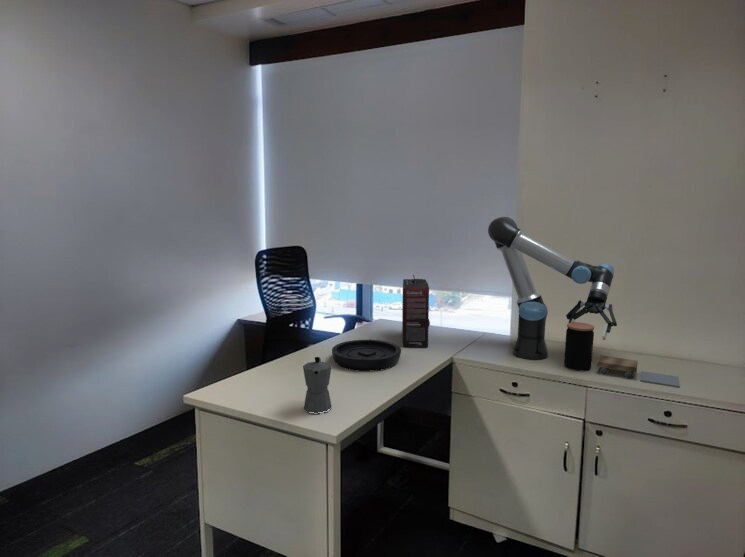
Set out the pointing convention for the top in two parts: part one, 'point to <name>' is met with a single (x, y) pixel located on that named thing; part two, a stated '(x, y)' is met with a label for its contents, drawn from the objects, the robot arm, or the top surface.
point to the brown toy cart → (617, 365)
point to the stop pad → (659, 379)
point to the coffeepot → (317, 386)
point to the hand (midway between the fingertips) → (586, 335)
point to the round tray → (366, 354)
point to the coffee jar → (579, 346)
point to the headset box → (415, 312)
